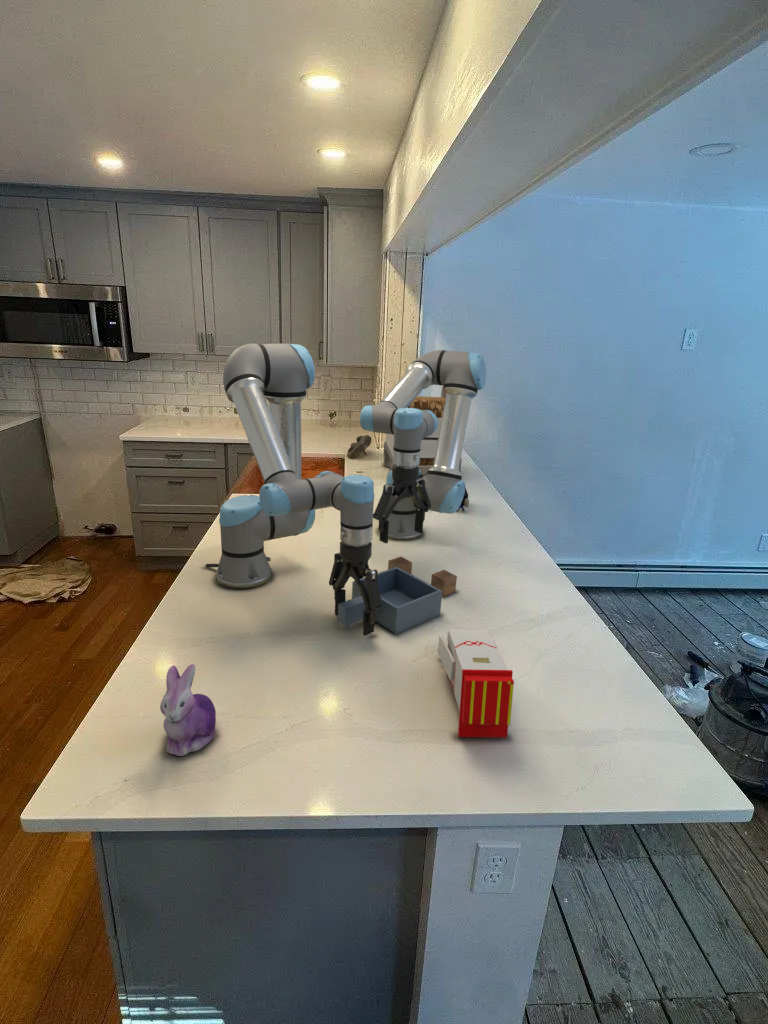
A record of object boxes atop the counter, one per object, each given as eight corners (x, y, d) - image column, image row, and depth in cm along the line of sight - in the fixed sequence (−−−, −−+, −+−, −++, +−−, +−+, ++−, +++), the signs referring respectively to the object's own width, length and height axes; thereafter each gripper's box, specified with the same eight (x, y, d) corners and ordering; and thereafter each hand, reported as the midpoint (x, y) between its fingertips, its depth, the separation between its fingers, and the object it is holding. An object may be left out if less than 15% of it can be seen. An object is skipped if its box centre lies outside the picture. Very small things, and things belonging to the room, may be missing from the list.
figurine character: (468, 516, 224) (463, 500, 237) (471, 498, 221) (465, 483, 234) (452, 515, 224) (447, 499, 237) (453, 498, 220) (449, 482, 234)
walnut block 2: (430, 590, 161) (431, 574, 159) (442, 585, 164) (444, 569, 162) (443, 596, 157) (444, 580, 156) (455, 591, 161) (456, 576, 159)
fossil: (347, 441, 314) (368, 426, 309) (358, 454, 317) (379, 439, 312) (341, 455, 294) (363, 439, 289) (352, 469, 297) (375, 453, 292)
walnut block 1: (387, 575, 168) (388, 560, 167) (400, 571, 171) (400, 556, 170) (398, 582, 165) (399, 566, 163) (411, 577, 168) (412, 562, 166)
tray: (320, 616, 145) (320, 592, 142) (395, 589, 161) (396, 566, 158) (363, 647, 132) (364, 621, 130) (440, 614, 148) (442, 590, 146)
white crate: (382, 463, 289) (386, 382, 275) (445, 464, 293) (451, 384, 279) (390, 482, 257) (394, 392, 243) (460, 483, 261) (468, 394, 247)
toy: (488, 613, 130) (523, 677, 101) (484, 667, 133) (517, 744, 104) (435, 612, 130) (455, 676, 101) (432, 666, 133) (451, 743, 103)
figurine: (168, 766, 96) (159, 693, 91) (160, 728, 104) (152, 659, 99) (224, 749, 100) (219, 678, 95) (212, 714, 109) (207, 646, 103)
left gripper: (314, 529, 139) (314, 608, 146) (375, 562, 122) (371, 649, 130) (339, 523, 143) (338, 600, 151) (401, 554, 127) (396, 638, 135)
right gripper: (380, 474, 146) (376, 550, 153) (446, 462, 162) (440, 531, 169) (362, 468, 151) (359, 541, 158) (428, 456, 167) (423, 524, 174)
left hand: (353, 623), depth 140 cm, fingers open, 11 cm apart
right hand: (401, 536), depth 164 cm, fingers open, 13 cm apart
